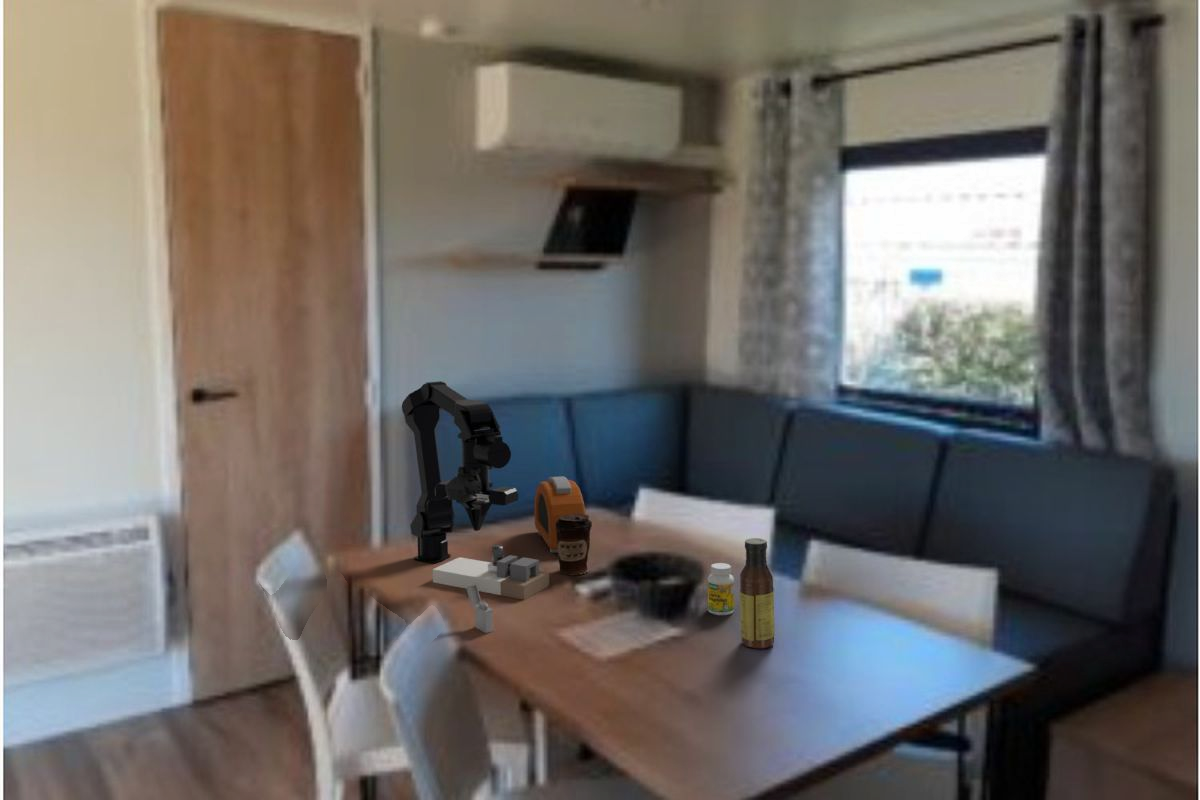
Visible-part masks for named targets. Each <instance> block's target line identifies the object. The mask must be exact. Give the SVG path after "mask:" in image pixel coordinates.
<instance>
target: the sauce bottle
mask: <svg viewBox="0 0 1200 800" xmlns="http://www.w3.org/2000/svg"><path fill="white" fill-rule="evenodd" d="M744 549H745V565H744V567H743V568H742V570H741V572H740V575H739V579H740V580H739V583H740V584H739V587H740V588H739V589H740V590H739V600H740V601H739V603H740V605H739V607H740V608H739V610H740V636H741V642H742V644H743V645H744V646H745V647H748V648H752V649H755V650H756V649H759V650H760V649H762V650H763V649H768V648H771V647H772V646H773V645H774V642H775V633H776V632H775V592H774V591H775V588H774V577H773V575H772V573H771V571H770V569H769V566H768V564H767V562H768V561H767V549H768V542H767V540H766V539H763V538H758V537H753V538H747V539H745V540H744Z"/></svg>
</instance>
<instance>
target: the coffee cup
mask: <svg viewBox="0 0 1200 800" xmlns="http://www.w3.org/2000/svg"><path fill="white" fill-rule="evenodd" d="M555 526H556V535H557V546H558V552H557V554H558V558H557V559H558V563H559V564H558V565H559V572H560V573H561V574H563V575H566V576H567V575H568V576H569V575H570V576H577V575H578V574H580V575H584V574H587V573H588V570H589V569H588V560H589V559H588V557H589V555H588V554H589V551H590V544H591V543H590V539H591V529H592V526H593V521H592V520H591V519H590V516H589V515H588V514H586V515H584V514H567V515H564V516H560V517H559V520H558V521H557V522H556V524H555ZM586 572H587V573H586ZM583 573H584V574H583ZM578 576H579V575H578Z"/></svg>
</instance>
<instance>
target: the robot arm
mask: <svg viewBox="0 0 1200 800" xmlns="http://www.w3.org/2000/svg"><path fill="white" fill-rule="evenodd" d="M401 410H402V413H403V416H404V420H405V423H406V425H407V426H408V428H410V430H411V431H412V432H413V436H414V444H415V452H416V459H417V468H418V477H419V482H420V489H421V493H420V496H419V498H418V501H417V503H416V505H415V506H416V507H415V508H416V514H415V516H414V517H413V519H412V522H411V523H410V525H409V526H410V532H411V535H413V536H415V537H416V538H417V555H415V556H414V557H413V560H414V561H415V560H416V561H419V562H420V561H421V562H426V563H432V564H436V563H439V562H441V561H443V560H445V559H446V560H447V559H448V558H450V557H451V556H452V554H451V553H449V547H448V545H449V544H448V542H449V541H448V539H447V534H448V533H450V534H451V533H452V532H453V527H454V521H455V512H454V507H453V501H455V502H456V503H457V504H460V505H461V506H462V507H463V508H464V509H465V511H466V514H467V515H468V518H469V521H470V523H471V526H472V528H473V530H474V532H475V531H476V532H478V531H480V530H481V528H482V526H483V524H484V521H485V518H486V516H487V514H488V512H489V510H490V508H491V506H492V505H496V506H507V505H510V504H512V503H514V502H517V501H519V491H518V489H516V487H512V486H511V487H510V486H503V485H502V486H499V487H497V488H494V489H490V488H493V487H494V486H493V483H494V482H491V481H490V470H492V469H493V468H494V469H503V468H504V467H506V466H507V465H508V463H510V461H511V457H512V451H511V449H510V446H509V445H508V444H507V443H506V442H504V441H503V436H502V435H501V434H502V432H501V430H500V428H501V426H500V424H499V423H498V421H497V419H496V416H495V415H494V412H493V409H492V408H491V406H490V405H489V404H488V403H486V402H483V401H480V400H471V399H468V398H466V397H465V396H463V395H462V394H461V393H458V392H457V391H455V390H454V389H452V388H451V387H450V386H448V385H447V383H446V382H443V381H441V380H440V381H428V382H425V383H424V384H422V385H421V387H419V388H417V389H416V390H414V391H412V392H411V393H409V394H408V395H407V396H406V397H405V398H404V400H403V401H402V403H401ZM440 410H443V411H444V412H446V413H447V414H449V415H451V416H452V418H454V419H453V423H454V425H455V426H456V427H457V428H458V429H459V430H460V432H459V433H458V435H457V438H458V439H460V440H461V459H462V460H461V462H462V463H461V464H462V465H461V466H458V469H457V476H455V477H453V478H452V479H448V480H445V481H442V478H441V470H440V463H439V454H438V453H439V452H438V447H437V439H436V428H437V426H438V424H439V421H440V419H441V413H440V412H441V411H440Z"/></svg>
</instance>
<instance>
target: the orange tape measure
mask: <svg viewBox="0 0 1200 800" xmlns="http://www.w3.org/2000/svg"><path fill="white" fill-rule="evenodd" d="M567 514H584V515H587V514H586V507H585V502H584V498H583V494H582V492H581V489H580V487H579V485H577V483H576V482H575V481H573V480H571V479H568V478H567V477H566V476H562V475H561V476H550V477H548V478H547V480H546V481H540V482H539V483H538V486H537V487H536V491H535V496H534V526H535V529H536V530H537V532H538V535H539V536H540V537H542V539H543V540H544V542H545V544H546V545H547V547H548V548H549V552H550V553H558V546H557V535H556V526H555V524H556V522H557V521H558V520H559V517H560V516H564V515H567Z"/></svg>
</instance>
